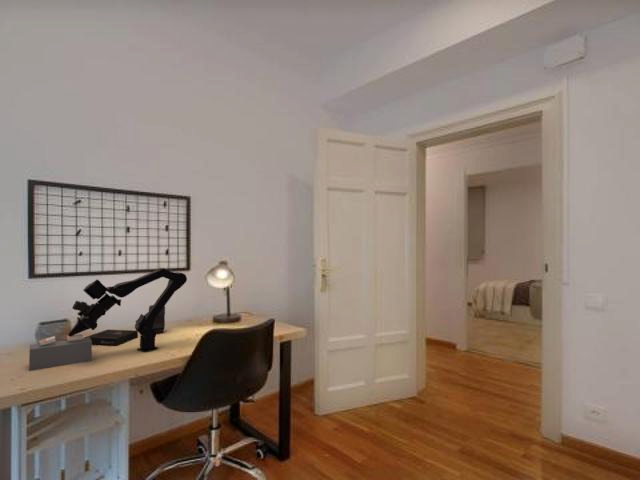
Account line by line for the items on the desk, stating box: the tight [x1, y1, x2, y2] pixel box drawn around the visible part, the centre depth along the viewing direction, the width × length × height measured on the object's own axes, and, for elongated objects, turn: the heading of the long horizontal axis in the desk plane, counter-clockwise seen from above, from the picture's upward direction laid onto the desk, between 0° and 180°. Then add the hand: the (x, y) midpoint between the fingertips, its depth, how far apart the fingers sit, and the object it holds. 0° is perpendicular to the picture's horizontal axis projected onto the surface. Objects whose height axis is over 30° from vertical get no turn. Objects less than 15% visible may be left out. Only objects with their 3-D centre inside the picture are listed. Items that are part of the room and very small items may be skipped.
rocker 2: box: [66, 333, 84, 341], centre depth 148 cm, size 5×4×1 cm
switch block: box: [28, 337, 93, 372], centre depth 145 cm, size 20×8×8 cm, turn 128°
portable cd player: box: [83, 329, 139, 347], centre depth 179 cm, size 16×17×4 cm
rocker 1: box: [38, 335, 57, 346], centre depth 143 cm, size 5×4×1 cm
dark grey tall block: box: [148, 304, 166, 335], centre depth 196 cm, size 8×8×15 cm
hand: (68, 335), depth 147 cm, fingers closed
